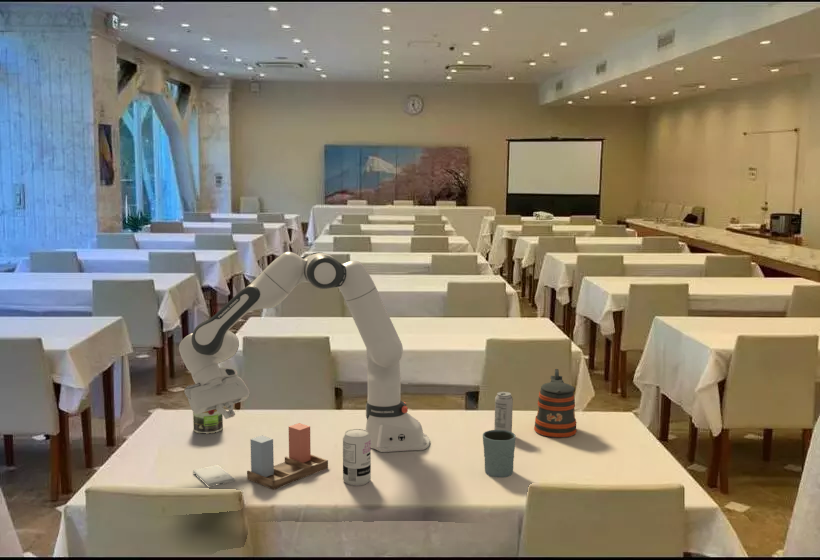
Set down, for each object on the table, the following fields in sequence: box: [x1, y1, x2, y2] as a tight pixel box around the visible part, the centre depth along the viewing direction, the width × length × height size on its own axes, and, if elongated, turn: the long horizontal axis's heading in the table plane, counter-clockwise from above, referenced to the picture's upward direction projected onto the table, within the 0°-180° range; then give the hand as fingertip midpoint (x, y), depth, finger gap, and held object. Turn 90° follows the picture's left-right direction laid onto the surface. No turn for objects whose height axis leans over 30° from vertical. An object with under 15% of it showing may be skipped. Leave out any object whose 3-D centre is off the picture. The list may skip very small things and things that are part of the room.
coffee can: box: [192, 409, 224, 435], centre depth 296 cm, size 10×10×14 cm
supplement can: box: [342, 428, 372, 487], centre depth 252 cm, size 8×8×15 cm
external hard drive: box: [192, 464, 236, 487], centre depth 255 cm, size 2×8×12 cm
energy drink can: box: [493, 391, 514, 433], centre depth 292 cm, size 6×6×15 cm
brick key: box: [288, 422, 312, 463], centre depth 265 cm, size 5×4×11 cm
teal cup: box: [482, 429, 517, 479], centre depth 260 cm, size 10×10×12 cm
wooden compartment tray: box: [246, 454, 329, 490], centre depth 258 cm, size 12×22×2 cm, turn 140°
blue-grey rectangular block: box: [250, 434, 275, 477], centre depth 253 cm, size 5×4×11 cm
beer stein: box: [533, 368, 578, 439], centre depth 299 cm, size 19×15×20 cm
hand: (230, 417), depth 261 cm, fingers closed
